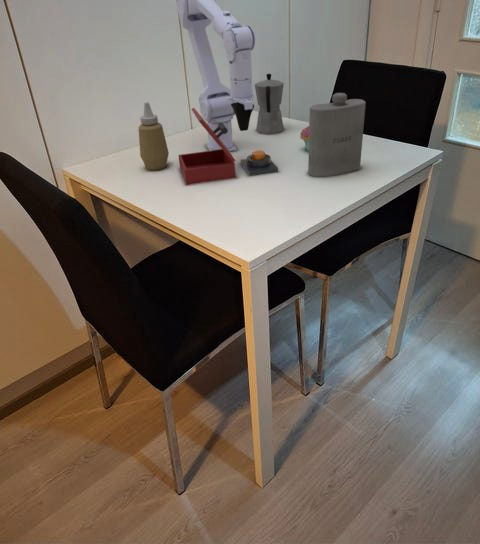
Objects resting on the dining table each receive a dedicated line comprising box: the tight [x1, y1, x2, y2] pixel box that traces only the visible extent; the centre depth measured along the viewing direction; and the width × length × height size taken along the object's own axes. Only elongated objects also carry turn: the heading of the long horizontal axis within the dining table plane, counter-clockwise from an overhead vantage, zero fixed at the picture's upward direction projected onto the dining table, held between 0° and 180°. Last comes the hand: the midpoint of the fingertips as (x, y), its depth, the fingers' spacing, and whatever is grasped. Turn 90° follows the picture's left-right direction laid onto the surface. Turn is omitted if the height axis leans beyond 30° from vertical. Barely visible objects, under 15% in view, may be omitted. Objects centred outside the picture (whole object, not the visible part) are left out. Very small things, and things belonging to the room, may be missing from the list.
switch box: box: [240, 153, 279, 177], centre depth 134 cm, size 10×8×3 cm
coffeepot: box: [253, 73, 285, 135], centre depth 158 cm, size 15×9×18 cm, turn 175°
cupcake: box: [299, 125, 309, 152], centre depth 142 cm, size 9×8×12 cm
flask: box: [307, 92, 366, 178], centre depth 125 cm, size 15×6×20 cm, turn 109°
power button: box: [251, 150, 266, 160], centre depth 133 cm, size 4×4×2 cm
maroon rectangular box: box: [177, 149, 237, 186], centre depth 133 cm, size 13×12×4 cm
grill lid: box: [191, 107, 236, 163], centre depth 128 cm, size 14×12×4 cm
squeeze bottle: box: [138, 101, 170, 171], centre depth 135 cm, size 8×8×18 cm
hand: (243, 129), depth 134 cm, fingers closed
